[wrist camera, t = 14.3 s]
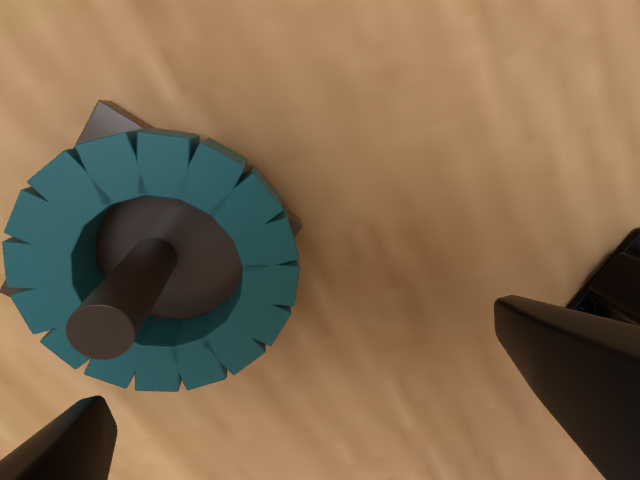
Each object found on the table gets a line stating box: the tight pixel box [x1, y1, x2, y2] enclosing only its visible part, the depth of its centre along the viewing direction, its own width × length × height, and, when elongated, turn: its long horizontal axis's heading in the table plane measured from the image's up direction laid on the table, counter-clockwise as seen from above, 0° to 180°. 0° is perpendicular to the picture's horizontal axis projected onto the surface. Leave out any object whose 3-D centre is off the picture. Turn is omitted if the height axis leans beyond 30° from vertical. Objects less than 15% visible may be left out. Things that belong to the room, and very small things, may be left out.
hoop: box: [2, 128, 300, 392], centre depth 17 cm, size 11×11×2 cm
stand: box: [0, 100, 302, 360], centre depth 16 cm, size 10×10×8 cm
